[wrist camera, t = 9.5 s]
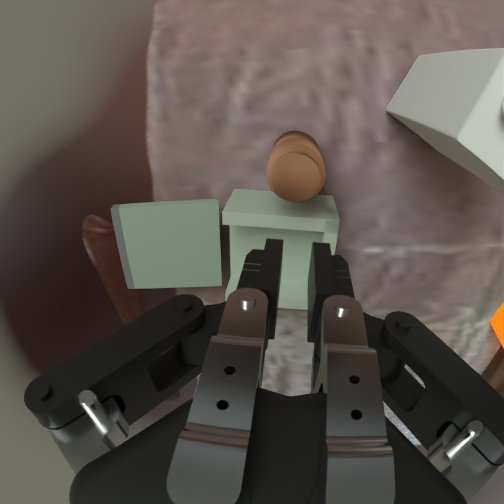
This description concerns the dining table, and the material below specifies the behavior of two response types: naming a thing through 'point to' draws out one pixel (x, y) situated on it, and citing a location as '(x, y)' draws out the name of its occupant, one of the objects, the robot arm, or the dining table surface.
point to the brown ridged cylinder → (295, 167)
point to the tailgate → (169, 243)
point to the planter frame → (496, 372)
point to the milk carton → (458, 108)
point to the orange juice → (499, 324)
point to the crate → (279, 236)
